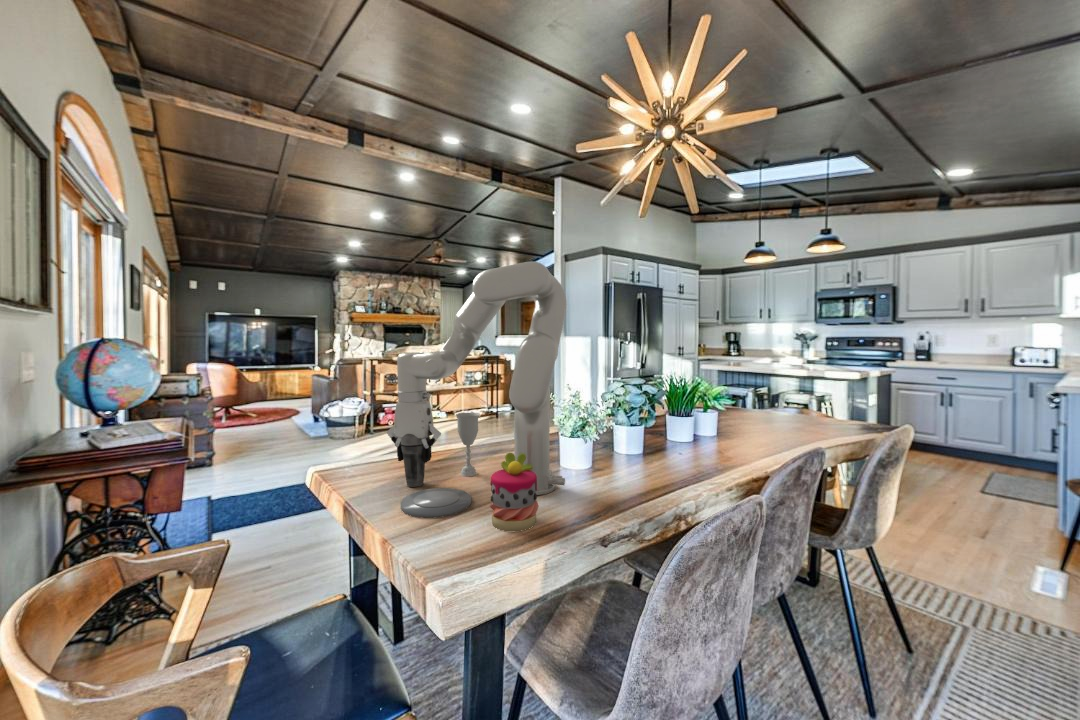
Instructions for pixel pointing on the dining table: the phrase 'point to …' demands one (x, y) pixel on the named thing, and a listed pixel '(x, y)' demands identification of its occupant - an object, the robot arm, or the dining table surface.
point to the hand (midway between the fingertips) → (414, 460)
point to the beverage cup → (413, 460)
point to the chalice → (468, 437)
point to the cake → (514, 495)
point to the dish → (435, 502)
